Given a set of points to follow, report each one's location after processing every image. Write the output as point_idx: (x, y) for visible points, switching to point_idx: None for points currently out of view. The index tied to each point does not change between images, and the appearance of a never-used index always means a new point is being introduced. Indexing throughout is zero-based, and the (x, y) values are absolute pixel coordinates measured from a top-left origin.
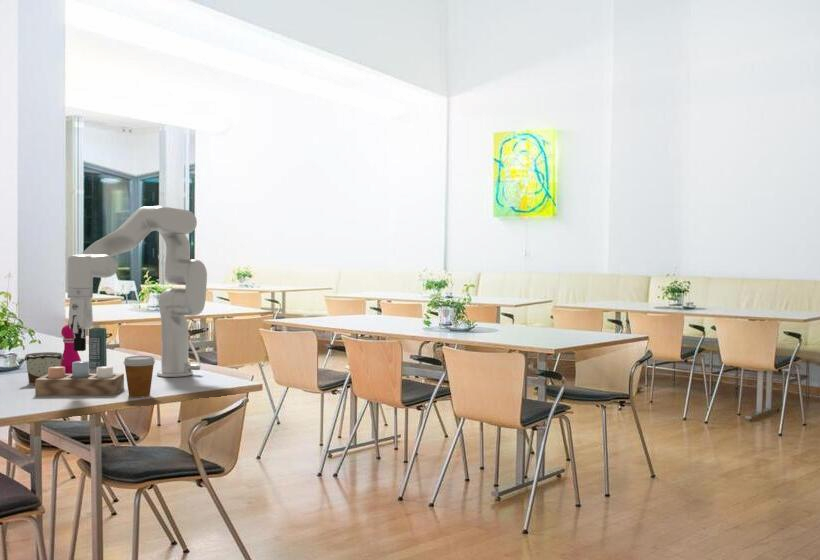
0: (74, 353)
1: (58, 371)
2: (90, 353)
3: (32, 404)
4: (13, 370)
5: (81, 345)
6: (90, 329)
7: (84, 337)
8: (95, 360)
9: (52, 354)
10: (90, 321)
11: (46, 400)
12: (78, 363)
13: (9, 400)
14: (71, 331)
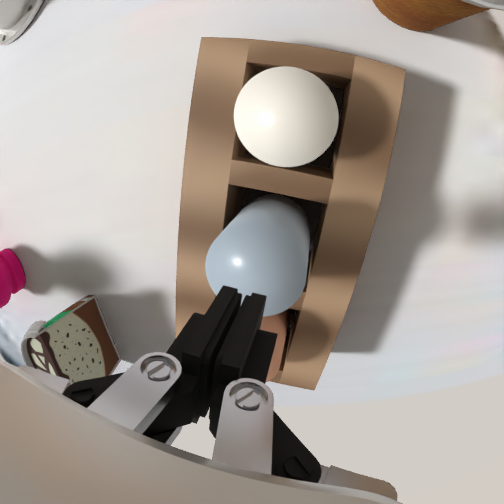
0: None
1: (279, 344)
2: None
3: (465, 340)
4: (10, 357)
5: (262, 342)
6: None
7: (179, 367)
8: None
9: (27, 351)
10: (15, 480)
11: (423, 315)
12: (304, 283)
13: (375, 395)
14: None
